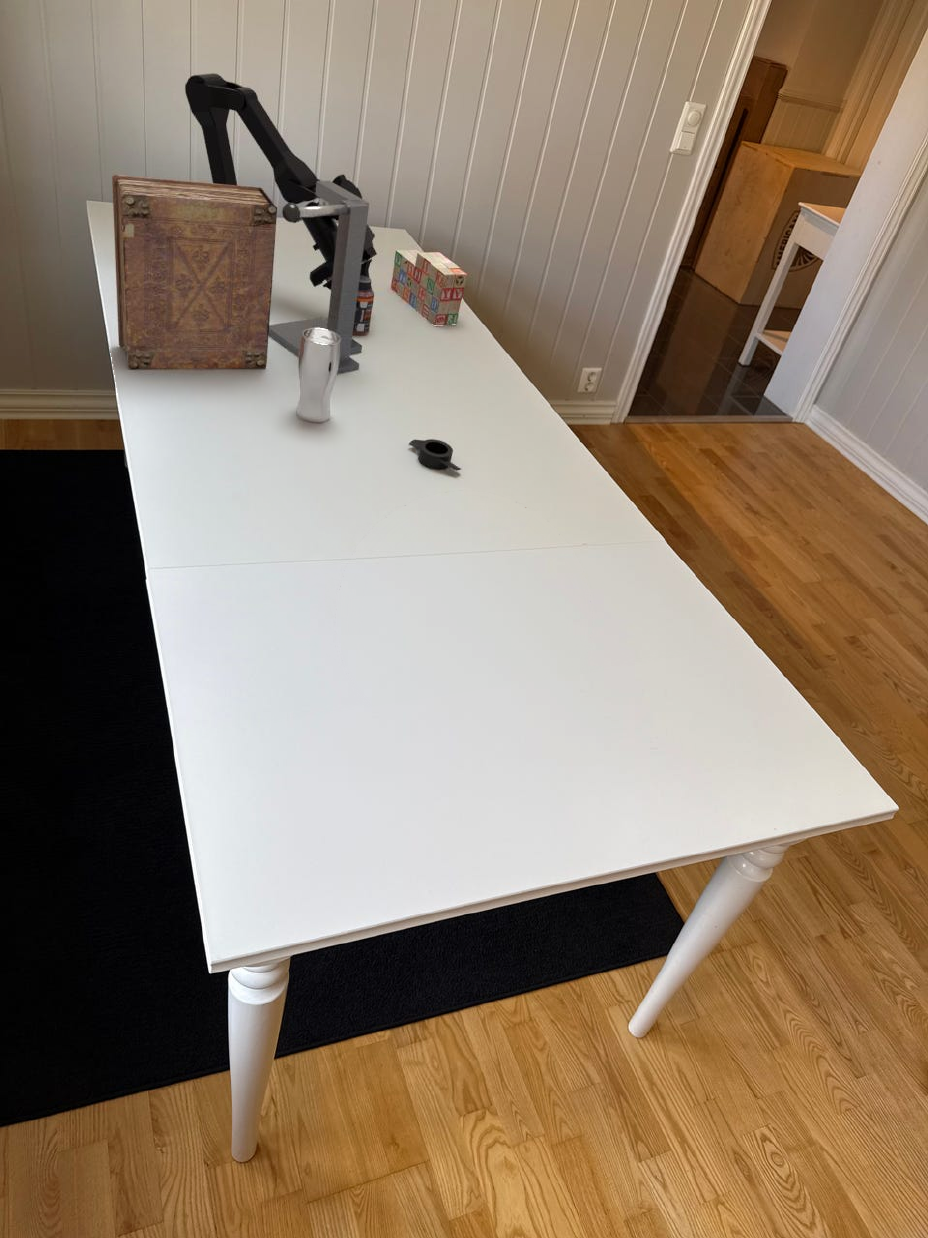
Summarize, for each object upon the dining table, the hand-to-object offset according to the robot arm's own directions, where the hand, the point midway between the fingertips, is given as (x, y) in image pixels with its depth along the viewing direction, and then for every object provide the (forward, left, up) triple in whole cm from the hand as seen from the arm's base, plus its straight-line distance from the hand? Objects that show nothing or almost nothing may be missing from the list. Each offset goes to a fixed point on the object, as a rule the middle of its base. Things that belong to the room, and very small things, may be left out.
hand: (364, 302), depth 185 cm
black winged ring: (+4, -51, -7) cm, 52 cm away
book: (-35, -18, -7) cm, 40 cm away
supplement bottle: (-1, +1, -7) cm, 7 cm away
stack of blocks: (+18, +18, -7) cm, 26 cm away
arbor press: (-14, -12, -7) cm, 20 cm away
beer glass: (-15, -37, -7) cm, 41 cm away
